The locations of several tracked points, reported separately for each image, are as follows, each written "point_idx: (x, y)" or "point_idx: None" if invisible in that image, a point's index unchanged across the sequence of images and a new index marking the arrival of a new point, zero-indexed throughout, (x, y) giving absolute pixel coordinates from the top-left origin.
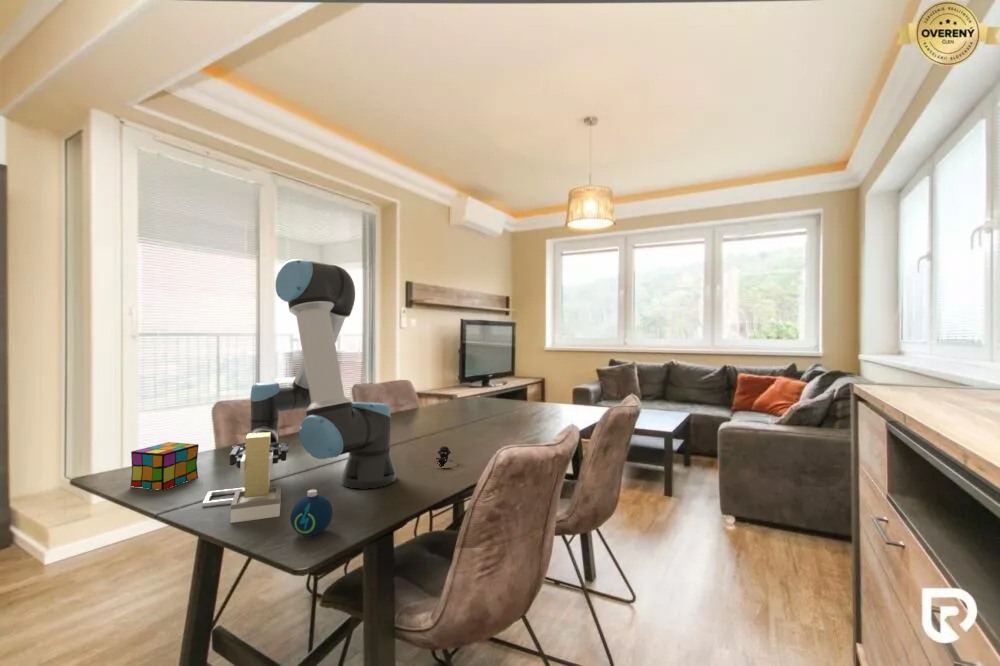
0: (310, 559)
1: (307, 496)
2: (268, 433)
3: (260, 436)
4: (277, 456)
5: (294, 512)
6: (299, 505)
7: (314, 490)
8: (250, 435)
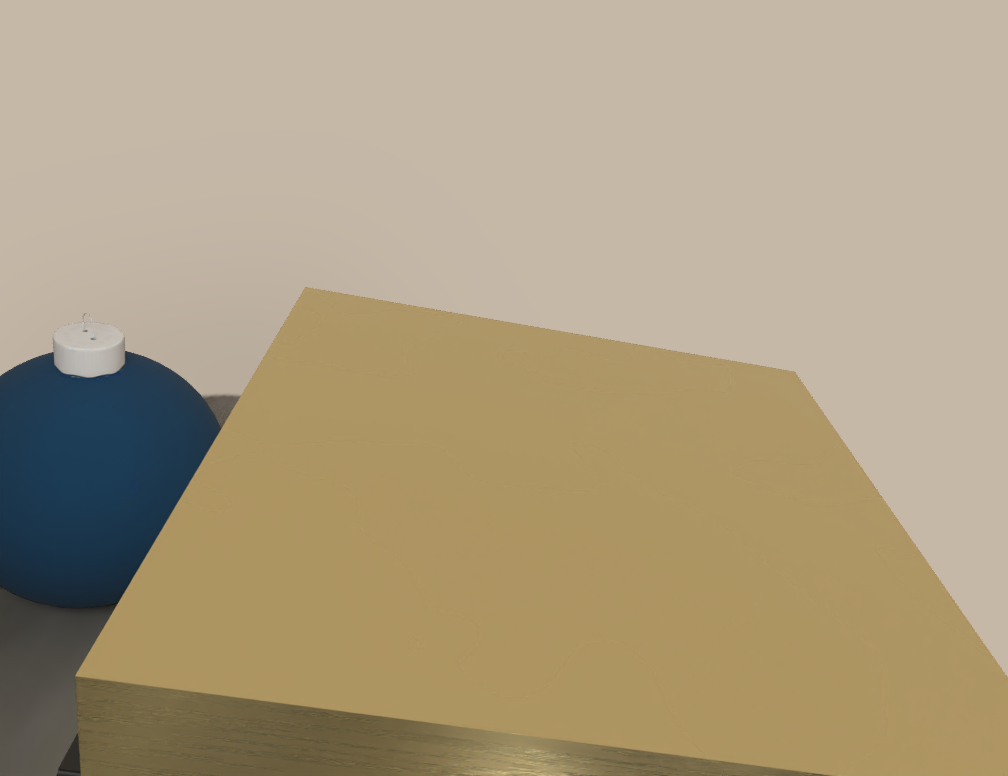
0: (216, 415)
1: (124, 366)
2: (242, 519)
3: (504, 349)
4: (74, 766)
5: (218, 425)
6: (190, 386)
7: (71, 333)
8: (803, 515)
